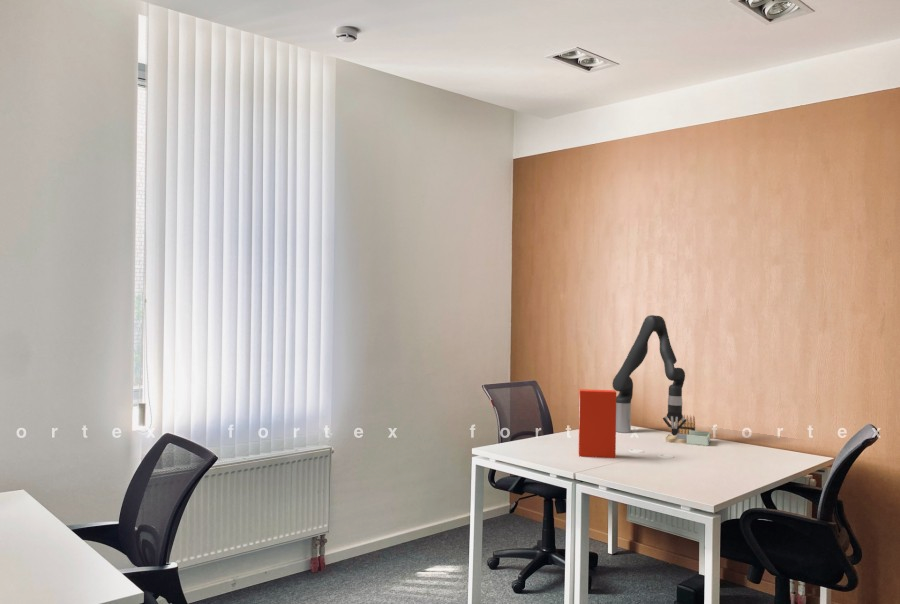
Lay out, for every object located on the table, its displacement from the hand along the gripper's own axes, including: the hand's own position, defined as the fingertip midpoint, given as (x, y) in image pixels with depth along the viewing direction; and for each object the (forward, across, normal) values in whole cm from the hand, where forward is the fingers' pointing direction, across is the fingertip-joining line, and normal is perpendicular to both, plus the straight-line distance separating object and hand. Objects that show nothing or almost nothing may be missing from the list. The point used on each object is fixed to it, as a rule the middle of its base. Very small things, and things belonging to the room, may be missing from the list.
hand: (674, 435), depth 366 cm
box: (+3, +12, +4) cm, 13 cm away
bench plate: (+3, +1, +4) cm, 5 cm away
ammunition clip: (+4, +4, +24) cm, 24 cm away
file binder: (+4, -30, -58) cm, 66 cm away
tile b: (+1, +4, 0) cm, 5 cm away
